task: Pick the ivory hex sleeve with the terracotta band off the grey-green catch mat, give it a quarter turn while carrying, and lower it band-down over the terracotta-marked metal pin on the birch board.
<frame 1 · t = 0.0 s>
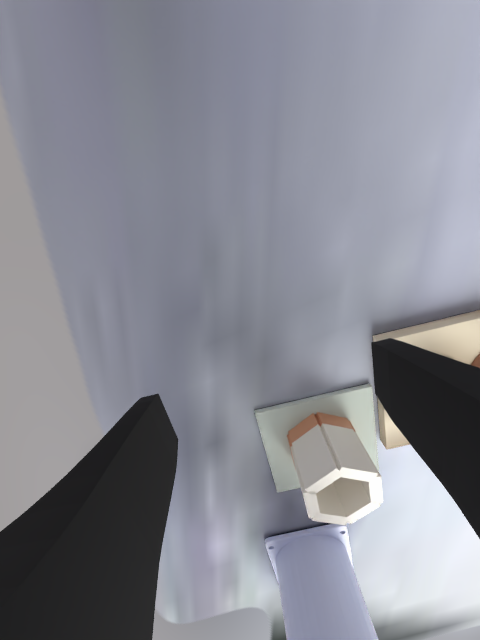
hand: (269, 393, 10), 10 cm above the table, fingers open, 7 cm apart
pin board: (454, 374, 22), on the table
catch mat: (319, 440, 24), on the table
sleeve: (320, 439, 24), resting on catch mat
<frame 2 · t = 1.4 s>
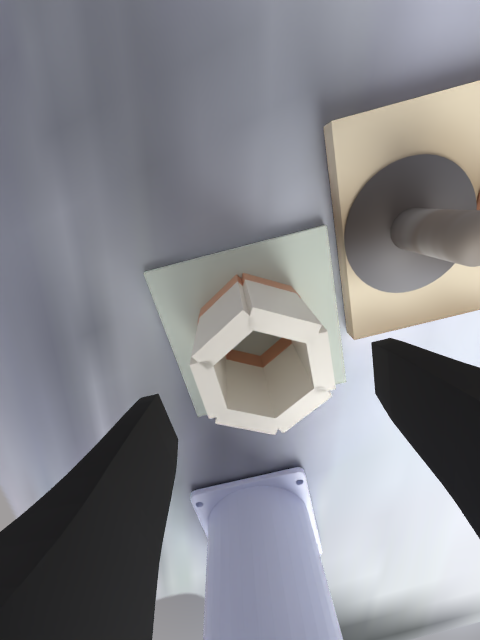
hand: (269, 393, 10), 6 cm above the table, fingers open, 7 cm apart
pin board: (458, 211, 14), on the table
catch mat: (253, 329, 16), on the table
sleeve: (252, 324, 15), resting on catch mat
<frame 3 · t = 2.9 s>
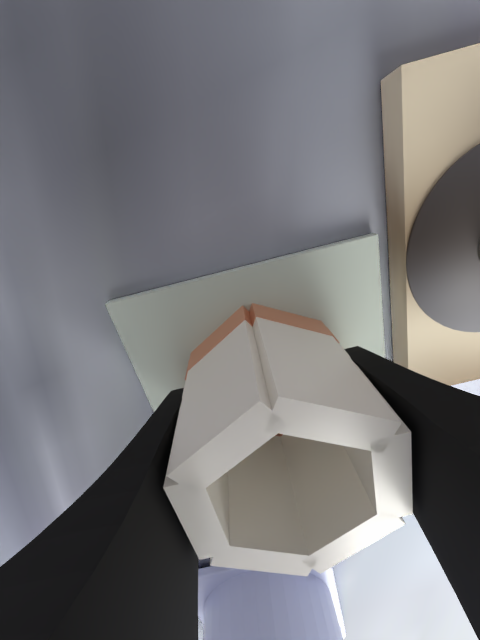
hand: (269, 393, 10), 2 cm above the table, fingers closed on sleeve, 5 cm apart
catch mat: (265, 378, 11), on the table
sleeve: (264, 373, 11), resting on catch mat, touching gripper
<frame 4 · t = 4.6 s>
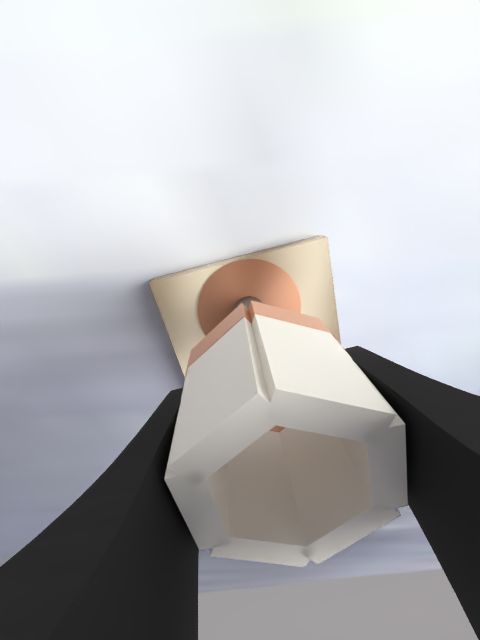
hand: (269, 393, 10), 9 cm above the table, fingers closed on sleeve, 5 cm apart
pin board: (258, 346, 19), on the table
sleeve: (263, 370, 11), point 7 cm above the table, touching gripper
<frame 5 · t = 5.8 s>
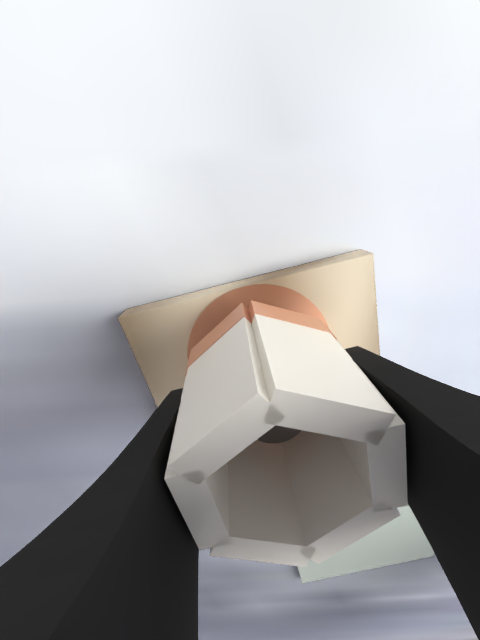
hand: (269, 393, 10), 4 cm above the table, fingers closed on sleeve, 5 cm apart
pin board: (270, 395, 14), on the table
catch mat: (359, 521, 18), on the table
sleeve: (263, 369, 11), point 2 cm above the table, touching gripper
when the fingers open (4 cm above the table, at t = 6.7 s): sleeve drops 1 cm, resting on pin board.
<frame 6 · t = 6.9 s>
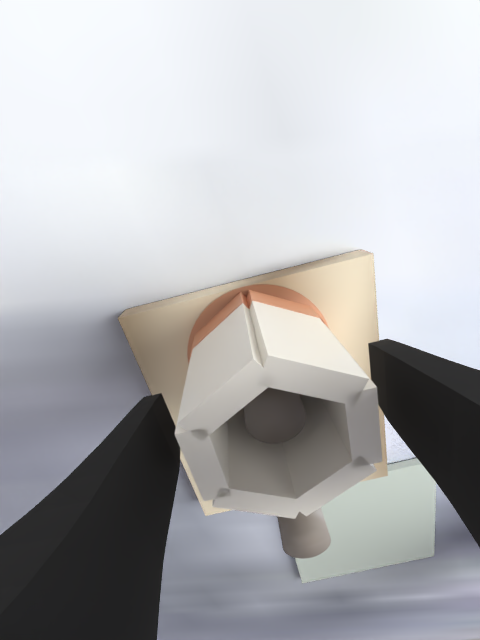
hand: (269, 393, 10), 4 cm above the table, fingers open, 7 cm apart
pin board: (270, 395, 14), on the table
catch mat: (359, 522, 18), on the table
sleeve: (260, 353, 12), point 1 cm above the table, touching pin board
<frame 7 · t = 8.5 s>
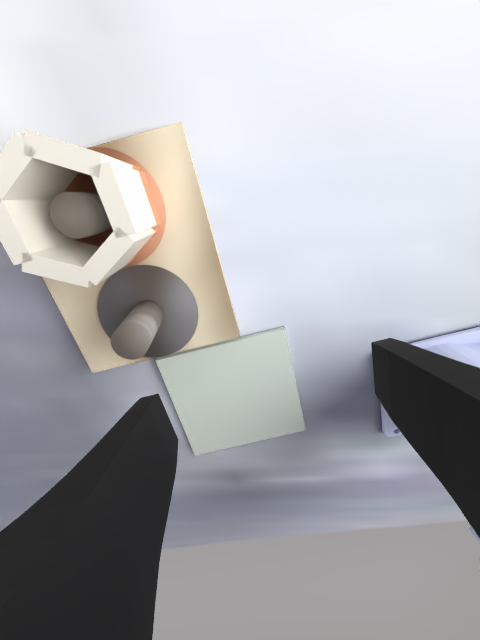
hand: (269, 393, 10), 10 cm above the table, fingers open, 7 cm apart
pin board: (135, 262, 18), on the table
catch mat: (235, 394, 22), on the table
sleeve: (108, 211, 15), point 1 cm above the table, touching pin board
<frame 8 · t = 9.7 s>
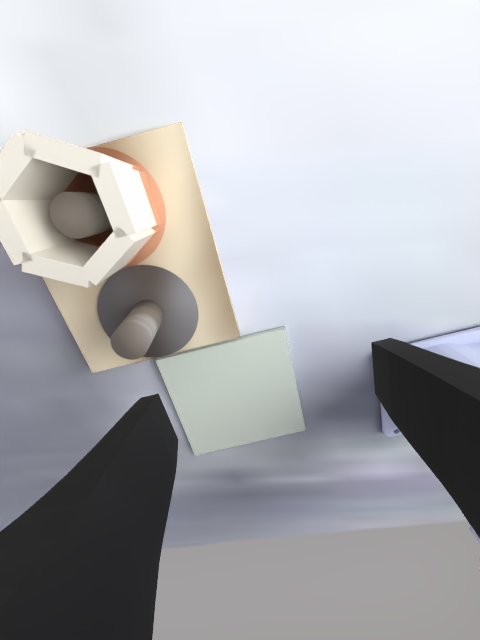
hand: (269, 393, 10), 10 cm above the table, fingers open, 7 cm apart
pin board: (135, 262, 18), on the table
catch mat: (235, 394, 22), on the table
sleeve: (108, 211, 15), point 1 cm above the table, touching pin board
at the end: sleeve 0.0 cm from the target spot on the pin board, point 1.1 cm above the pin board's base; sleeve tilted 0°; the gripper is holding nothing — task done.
